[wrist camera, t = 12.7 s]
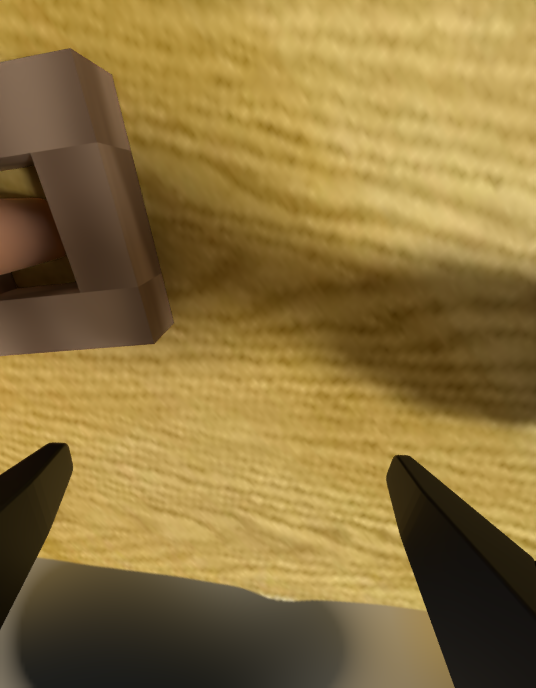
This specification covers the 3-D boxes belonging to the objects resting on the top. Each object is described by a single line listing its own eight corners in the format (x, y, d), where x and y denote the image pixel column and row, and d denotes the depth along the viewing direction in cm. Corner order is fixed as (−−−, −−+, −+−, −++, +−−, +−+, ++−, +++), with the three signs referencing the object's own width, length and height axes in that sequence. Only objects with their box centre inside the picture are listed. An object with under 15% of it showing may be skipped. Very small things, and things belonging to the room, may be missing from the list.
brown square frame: (111, 74, 15) (70, 48, 12) (173, 323, 20) (154, 343, 17) (-115, 116, 16) (-197, 101, 14) (-5, 338, 21) (-50, 359, 18)
